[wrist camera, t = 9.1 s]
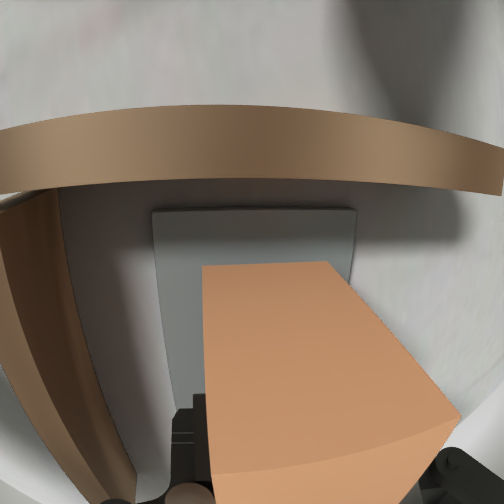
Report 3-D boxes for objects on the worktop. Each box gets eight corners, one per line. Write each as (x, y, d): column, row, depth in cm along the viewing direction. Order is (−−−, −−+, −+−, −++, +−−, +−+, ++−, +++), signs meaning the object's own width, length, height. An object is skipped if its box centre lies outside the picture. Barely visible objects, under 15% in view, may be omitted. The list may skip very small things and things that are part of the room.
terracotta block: (202, 265, 10) (211, 474, 3) (326, 261, 10) (461, 416, 4) (216, 455, 13) (232, 582, 7) (297, 446, 14) (336, 564, 7)
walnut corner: (114, 472, 15) (108, 524, 11) (20, 136, 9) (-50, 144, 5) (354, 454, 17) (375, 499, 14) (432, 138, 11) (506, 149, 7)
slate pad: (186, 451, 15) (186, 456, 14) (153, 209, 10) (151, 212, 10) (311, 439, 16) (313, 444, 15) (352, 208, 11) (357, 210, 11)
